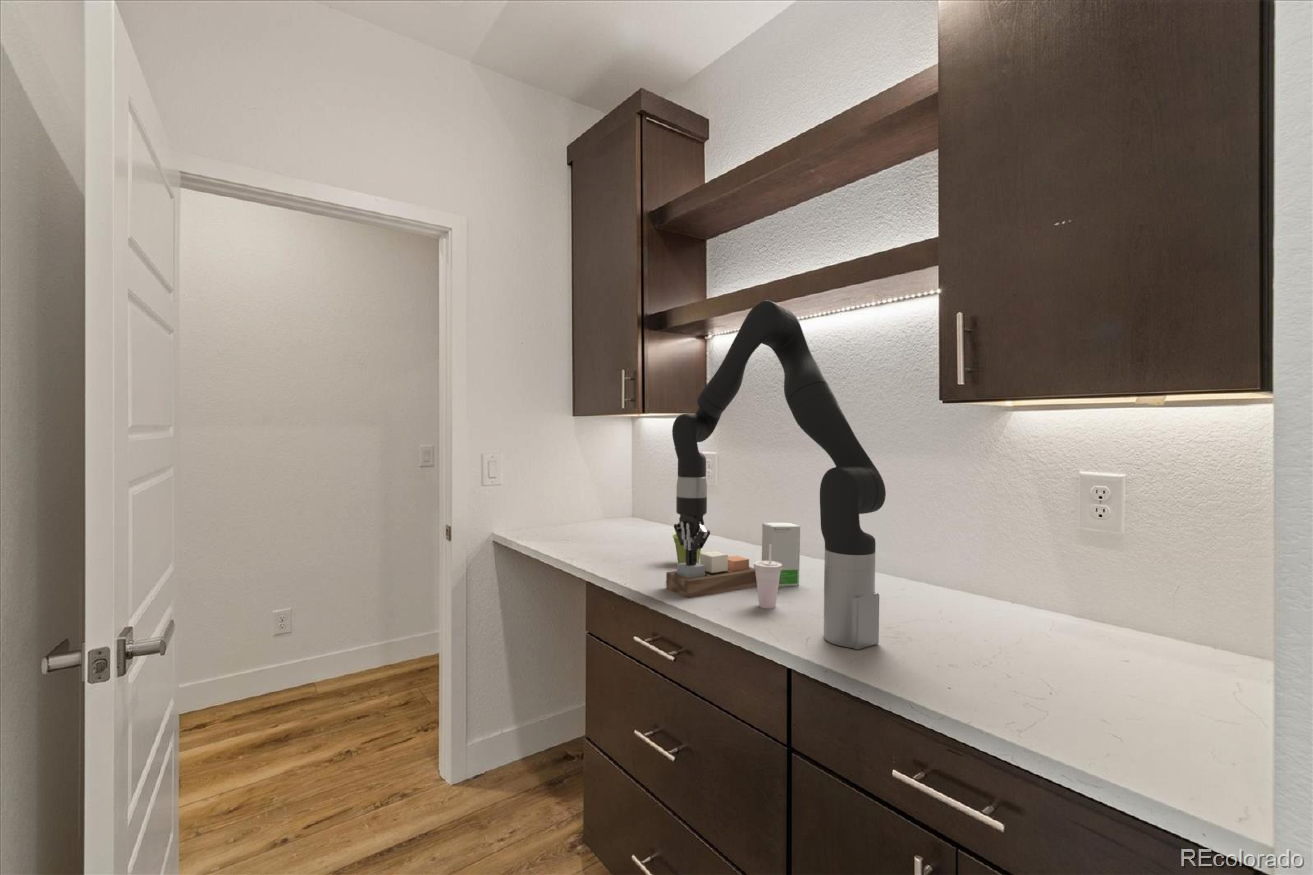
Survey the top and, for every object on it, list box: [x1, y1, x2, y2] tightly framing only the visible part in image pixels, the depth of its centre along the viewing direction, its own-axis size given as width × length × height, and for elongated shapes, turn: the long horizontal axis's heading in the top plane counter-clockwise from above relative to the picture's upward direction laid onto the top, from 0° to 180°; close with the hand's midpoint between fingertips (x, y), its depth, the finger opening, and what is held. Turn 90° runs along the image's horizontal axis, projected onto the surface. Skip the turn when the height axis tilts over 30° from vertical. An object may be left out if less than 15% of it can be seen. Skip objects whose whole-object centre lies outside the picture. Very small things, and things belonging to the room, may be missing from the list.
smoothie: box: [753, 545, 782, 610], centre depth 134 cm, size 6×6×14 cm
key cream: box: [699, 550, 729, 573], centre depth 150 cm, size 5×5×4 cm
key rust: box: [728, 555, 750, 572], centre depth 154 cm, size 5×5×4 cm
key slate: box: [676, 562, 705, 579], centre depth 146 cm, size 5×5×4 cm
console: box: [665, 566, 757, 599], centre depth 150 cm, size 10×22×4 cm, turn 121°
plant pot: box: [672, 533, 702, 564], centre depth 174 cm, size 9×9×9 cm
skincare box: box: [761, 522, 801, 588], centre depth 154 cm, size 8×7×16 cm
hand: (691, 564), depth 147 cm, fingers closed
